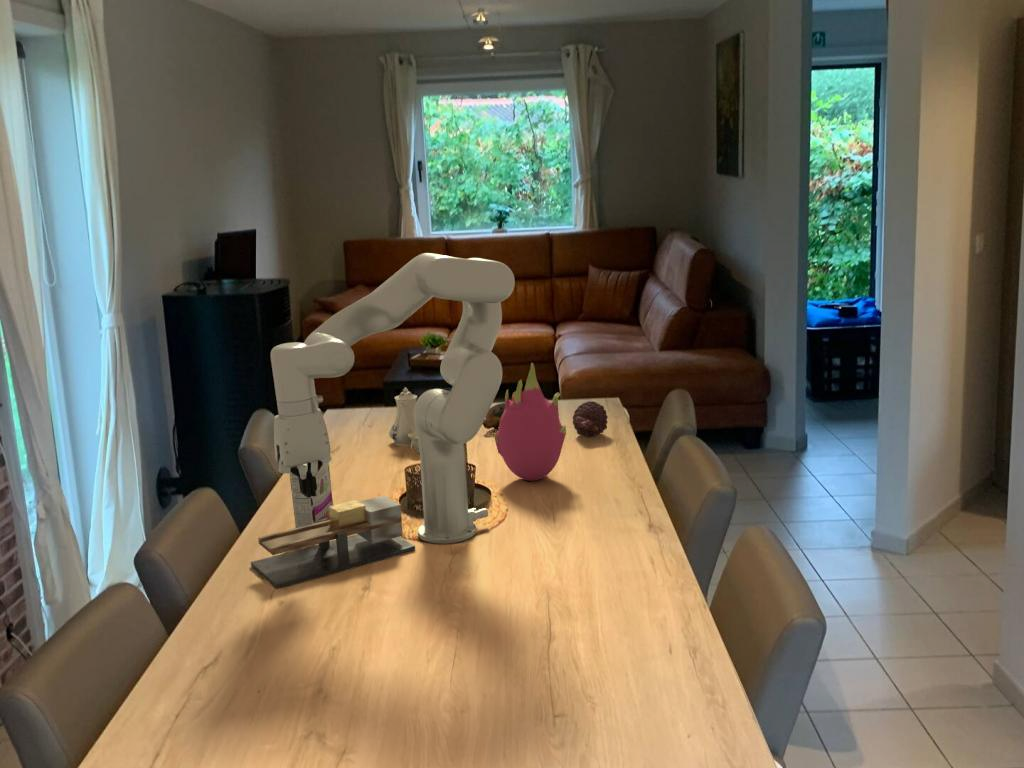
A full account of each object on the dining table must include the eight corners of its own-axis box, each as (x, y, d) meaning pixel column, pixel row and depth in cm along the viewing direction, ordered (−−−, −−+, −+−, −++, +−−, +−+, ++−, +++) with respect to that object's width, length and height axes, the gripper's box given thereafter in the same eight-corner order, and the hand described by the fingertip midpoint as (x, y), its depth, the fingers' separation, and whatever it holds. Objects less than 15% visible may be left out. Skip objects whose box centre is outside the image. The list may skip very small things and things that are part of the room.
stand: (384, 531, 220) (382, 501, 219) (415, 550, 209) (413, 518, 207) (251, 566, 204) (247, 534, 203) (276, 589, 193) (273, 555, 191)
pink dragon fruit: (571, 471, 256) (567, 355, 249) (564, 489, 243) (560, 366, 236) (502, 470, 259) (496, 355, 252) (491, 487, 246) (485, 367, 239)
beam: (386, 525, 217) (384, 495, 215) (402, 535, 210) (400, 504, 209) (260, 558, 202) (257, 525, 200) (274, 569, 195) (271, 536, 194)
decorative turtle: (534, 425, 300) (533, 399, 298) (499, 440, 290) (497, 414, 288) (510, 419, 307) (509, 394, 304) (475, 433, 297) (473, 407, 294)
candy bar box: (314, 518, 230) (308, 449, 226) (335, 519, 229) (329, 450, 225) (294, 537, 219) (287, 464, 216) (316, 538, 218) (309, 465, 215)
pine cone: (572, 428, 296) (571, 394, 294) (606, 426, 295) (605, 393, 293) (573, 445, 279) (572, 410, 276) (609, 444, 278) (609, 408, 276)
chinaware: (441, 462, 274) (444, 402, 270) (380, 457, 275) (382, 398, 271) (451, 434, 301) (454, 379, 298) (396, 430, 302) (398, 375, 298)
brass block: (357, 518, 211) (355, 500, 210) (366, 524, 207) (365, 505, 206) (330, 524, 208) (329, 506, 207) (339, 531, 204) (338, 512, 203)
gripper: (325, 395, 204) (336, 481, 208) (253, 411, 196) (266, 500, 200) (340, 401, 198) (351, 490, 202) (267, 418, 190) (280, 510, 194)
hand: (309, 495), depth 201 cm, fingers closed
